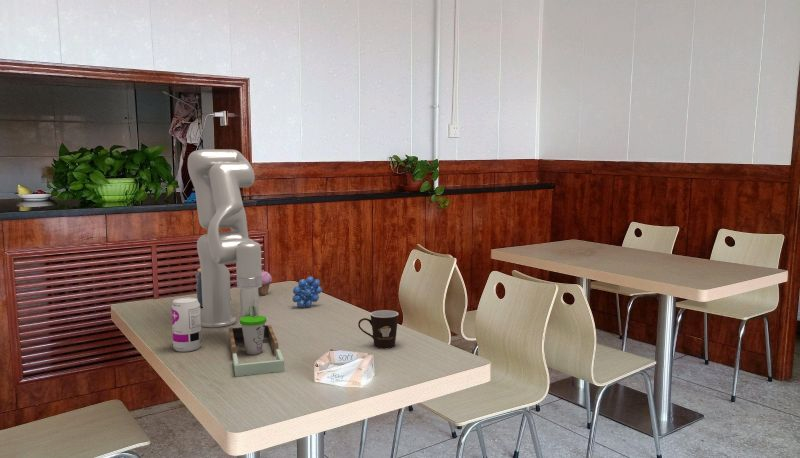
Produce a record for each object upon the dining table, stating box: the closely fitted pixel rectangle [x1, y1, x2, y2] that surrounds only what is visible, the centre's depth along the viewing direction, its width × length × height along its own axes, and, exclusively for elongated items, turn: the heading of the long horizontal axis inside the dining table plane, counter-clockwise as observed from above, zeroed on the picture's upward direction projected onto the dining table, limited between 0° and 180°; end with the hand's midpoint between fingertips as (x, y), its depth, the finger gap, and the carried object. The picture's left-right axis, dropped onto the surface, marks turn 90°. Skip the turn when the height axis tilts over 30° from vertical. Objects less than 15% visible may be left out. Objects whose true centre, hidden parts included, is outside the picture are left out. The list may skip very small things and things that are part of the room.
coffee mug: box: [357, 309, 399, 350], centre depth 193 cm, size 12×9×10 cm
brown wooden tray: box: [228, 324, 279, 361], centre depth 190 cm, size 20×13×4 cm, turn 18°
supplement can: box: [170, 296, 203, 353], centre depth 190 cm, size 8×8×15 cm
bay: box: [232, 348, 285, 377], centre depth 173 cm, size 10×13×3 cm
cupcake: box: [258, 270, 273, 296], centre depth 261 cm, size 9×9×10 cm
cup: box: [239, 300, 267, 356], centre depth 185 cm, size 8×8×15 cm
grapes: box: [292, 275, 323, 308], centre depth 240 cm, size 12×7×12 cm, turn 115°
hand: (251, 339), depth 195 cm, fingers closed
